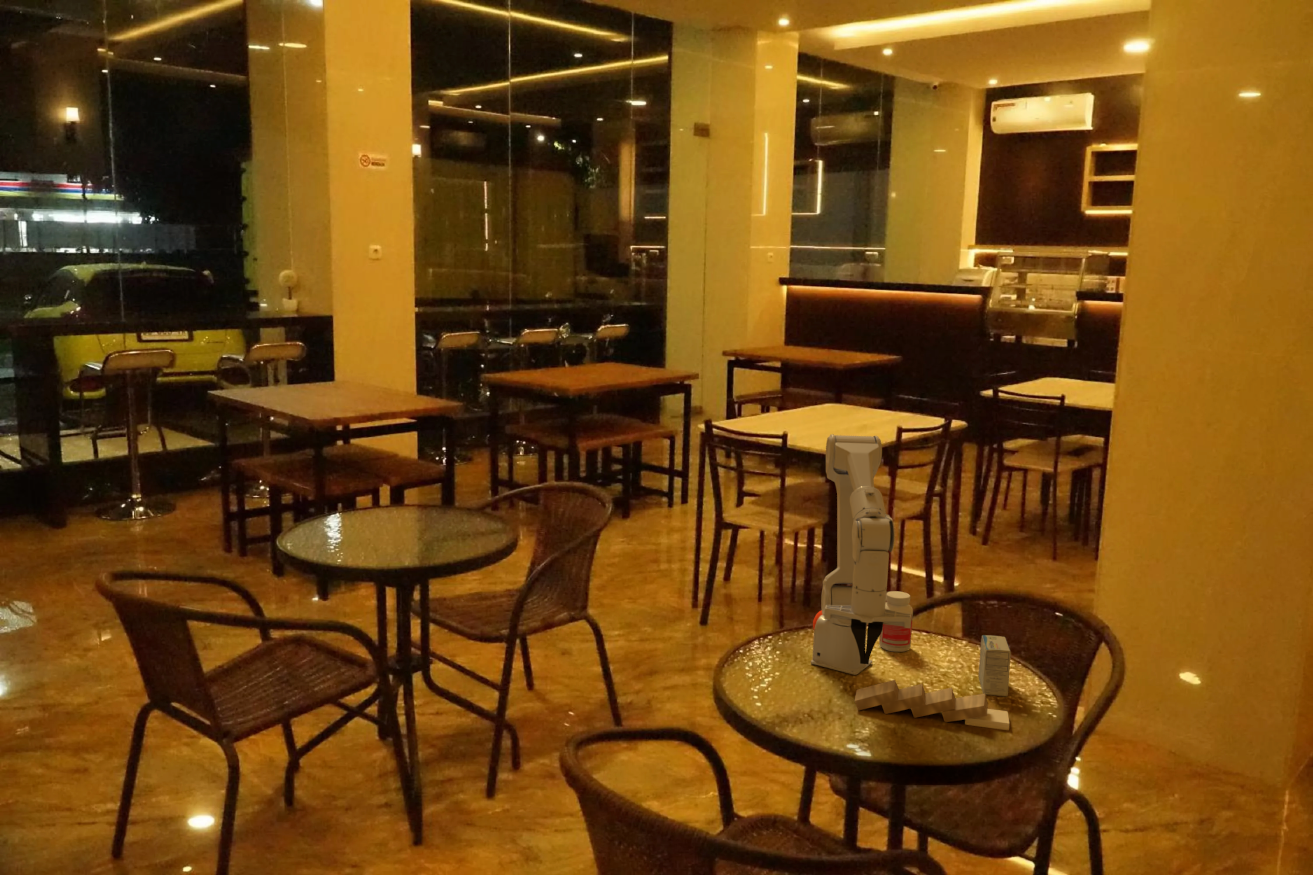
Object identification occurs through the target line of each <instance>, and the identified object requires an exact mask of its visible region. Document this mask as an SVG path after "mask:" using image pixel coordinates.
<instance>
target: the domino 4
mask: <svg viewBox="0 0 1313 875" xmlns="http://www.w3.org/2000/svg"><path fill="white" fill-rule="evenodd" d="M988 707H989V702H988V700H987V695H986V694H983V693H981V694H974V695H968V696H961V697H955V709H953V710H948V711H943V712H941V715H942V717H943V721H944V723H948V722H957V721H962V720H965V719H970V718H977V717H983V716H987V709H989V708H988Z"/></svg>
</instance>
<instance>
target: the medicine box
mask: <svg viewBox="0 0 1313 875" xmlns="http://www.w3.org/2000/svg"><path fill="white" fill-rule="evenodd" d="M979 652H980V653H979V661H978V662H979V663H978V665H979V666H978V680H979V684H980V687H981V691H982V694H985V695H986V696H987V695H988V696H994V697H995V696H997V697H998V696H999V697H1008V696H1009V682H1010V667H1011V658H1012V657H1011V655H1012V652H1011V649H1010V646H1009V643H1008V640H1007V638H1006V637H1005V636H1000V635H991V634H990V635H986V634H983V635H981V639H980V650H979Z"/></svg>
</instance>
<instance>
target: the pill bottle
mask: <svg viewBox="0 0 1313 875" xmlns="http://www.w3.org/2000/svg"><path fill="white" fill-rule="evenodd" d="M910 602H911V595H910V594H909V593H907V592H905V591H904V592H903V591H897V590H896V591H895V590H892V591H886V604H885V609H887V610H892V611H896V612H901V613H906V614H911V628H904V626H896V625H887V624H883V629H882V632H881V634H880V636H879V638H878V639H879V643H878V644H879V647H881V648H882V649H883V650H885V651H889V652H895V653H900V652H901V653H902V652H903V653H904V652H908V651H909V650H910V649H911V645H912V629H913V619H914V618H913V616H914V609H913V607H912V605H910V604H911V603H910Z"/></svg>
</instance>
